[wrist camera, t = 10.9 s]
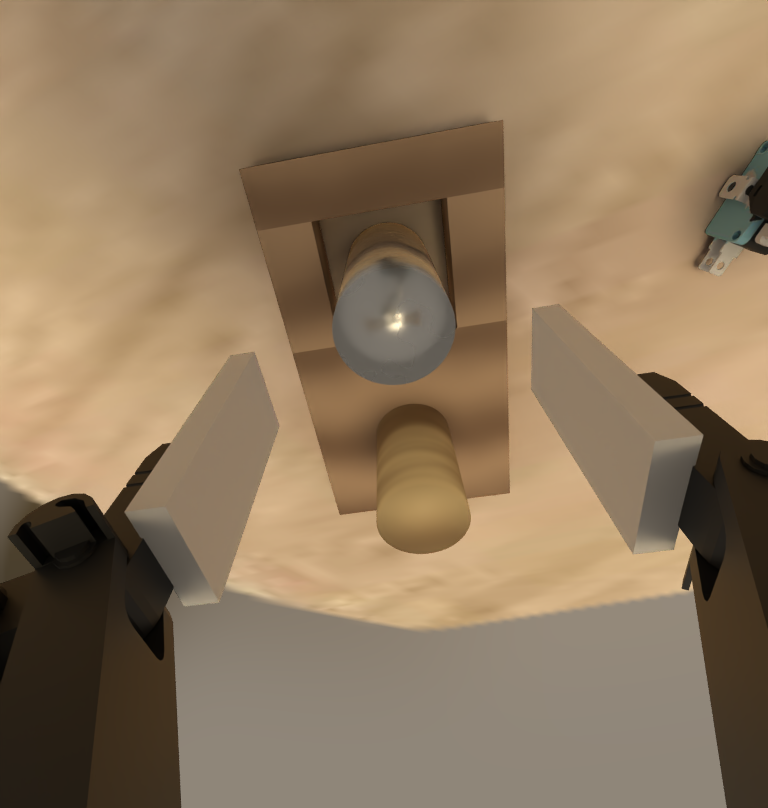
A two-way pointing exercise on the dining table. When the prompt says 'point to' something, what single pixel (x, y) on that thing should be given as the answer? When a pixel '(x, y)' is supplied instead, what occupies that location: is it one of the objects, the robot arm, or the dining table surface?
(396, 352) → the tan grey cylinder
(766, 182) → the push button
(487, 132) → the jig
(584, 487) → the dining table surface
